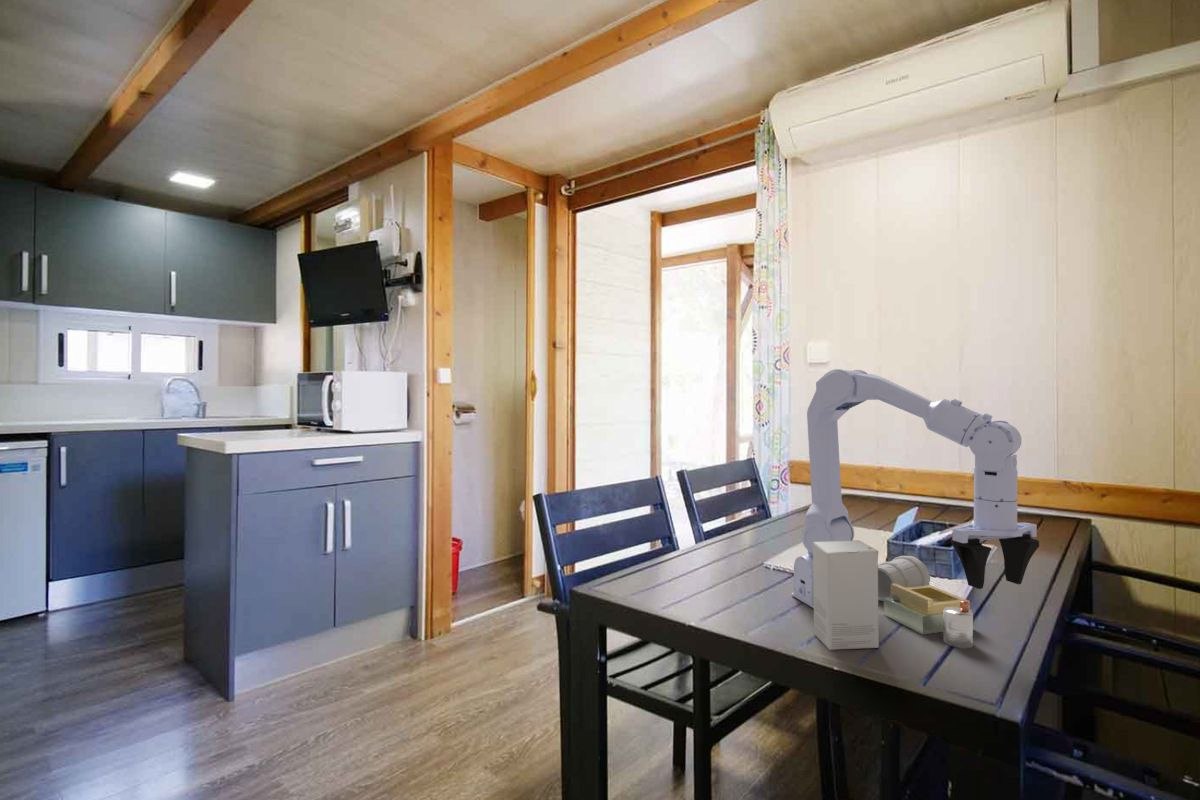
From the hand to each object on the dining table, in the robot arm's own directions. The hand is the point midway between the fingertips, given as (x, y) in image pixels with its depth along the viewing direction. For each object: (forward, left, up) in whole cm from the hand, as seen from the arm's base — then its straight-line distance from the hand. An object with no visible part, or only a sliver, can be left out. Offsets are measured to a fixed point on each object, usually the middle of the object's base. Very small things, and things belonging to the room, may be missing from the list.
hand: (994, 584), depth 94 cm
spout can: (-5, +2, -10) cm, 11 cm away
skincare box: (-22, +7, -10) cm, 25 cm away
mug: (+5, +25, -6) cm, 26 cm away
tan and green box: (-3, +10, -9) cm, 14 cm away
